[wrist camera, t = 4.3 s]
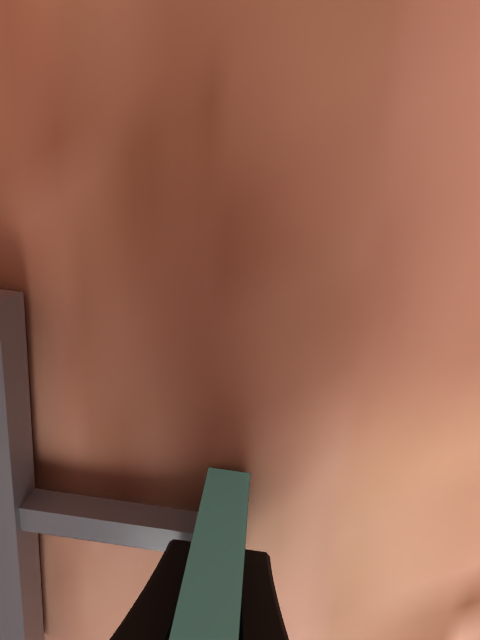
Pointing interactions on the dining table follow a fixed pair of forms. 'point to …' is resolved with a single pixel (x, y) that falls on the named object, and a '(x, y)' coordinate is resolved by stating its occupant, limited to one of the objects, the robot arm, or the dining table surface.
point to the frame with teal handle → (107, 519)
